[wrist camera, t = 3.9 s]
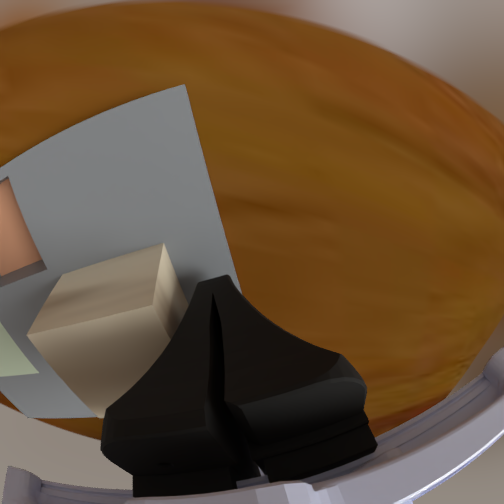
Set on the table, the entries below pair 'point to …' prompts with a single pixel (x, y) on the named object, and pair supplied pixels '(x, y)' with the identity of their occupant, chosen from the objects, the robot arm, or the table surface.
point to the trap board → (100, 224)
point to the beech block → (110, 324)
